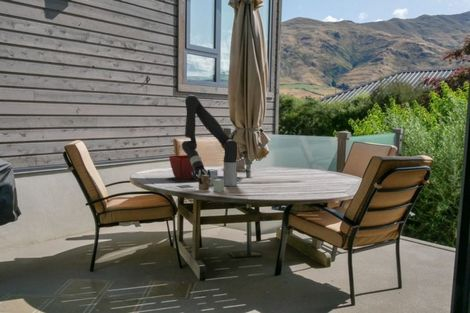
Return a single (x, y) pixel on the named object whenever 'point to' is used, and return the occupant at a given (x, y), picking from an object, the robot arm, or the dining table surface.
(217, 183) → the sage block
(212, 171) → the light bulb box
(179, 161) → the plant pot
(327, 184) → the dining table surface
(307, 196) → the dining table surface
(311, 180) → the dining table surface
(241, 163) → the cookie jar
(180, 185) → the slate coaster
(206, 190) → the lettered tile
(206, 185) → the walnut block
